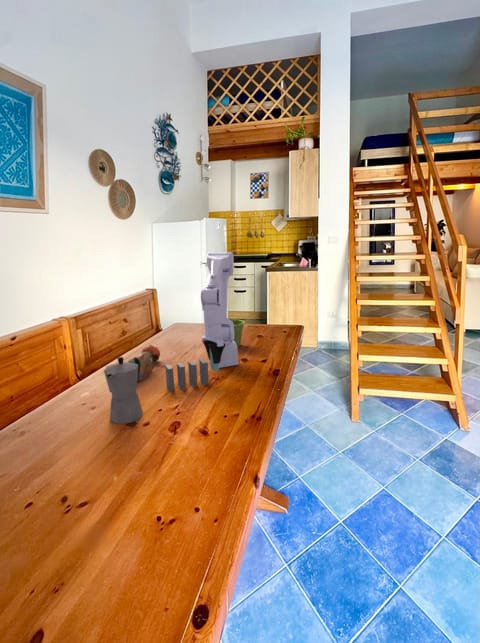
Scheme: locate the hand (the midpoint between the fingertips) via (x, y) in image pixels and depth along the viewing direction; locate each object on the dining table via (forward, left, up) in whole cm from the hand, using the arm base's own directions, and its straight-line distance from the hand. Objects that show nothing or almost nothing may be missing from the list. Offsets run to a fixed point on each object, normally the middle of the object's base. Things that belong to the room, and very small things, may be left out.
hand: (214, 361), depth 132 cm
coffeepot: (+31, +13, -8) cm, 35 cm away
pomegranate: (+16, -31, -8) cm, 36 cm away
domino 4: (+4, 0, -7) cm, 8 cm away
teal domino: (0, 0, -3) cm, 3 cm away
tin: (+22, -17, -8) cm, 29 cm away
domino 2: (+12, 0, -7) cm, 14 cm away
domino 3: (+8, 0, -7) cm, 11 cm away
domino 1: (+16, 0, -7) cm, 18 cm away
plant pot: (-22, -36, -8) cm, 43 cm away
